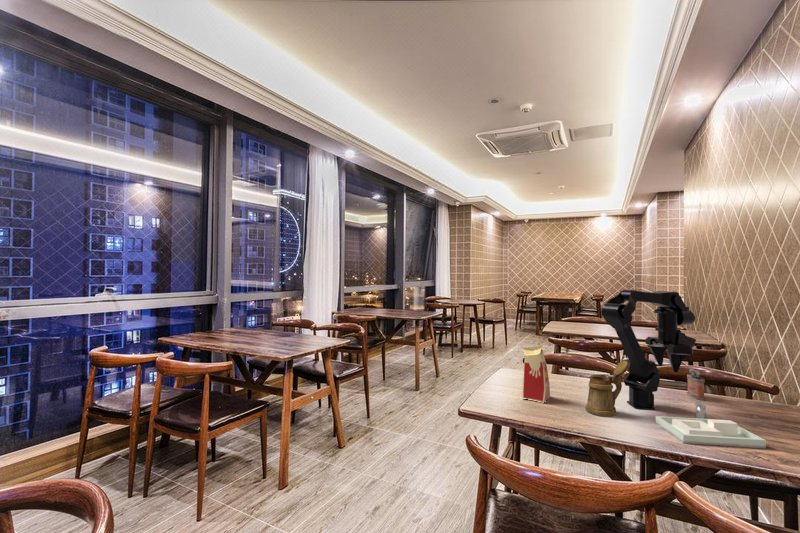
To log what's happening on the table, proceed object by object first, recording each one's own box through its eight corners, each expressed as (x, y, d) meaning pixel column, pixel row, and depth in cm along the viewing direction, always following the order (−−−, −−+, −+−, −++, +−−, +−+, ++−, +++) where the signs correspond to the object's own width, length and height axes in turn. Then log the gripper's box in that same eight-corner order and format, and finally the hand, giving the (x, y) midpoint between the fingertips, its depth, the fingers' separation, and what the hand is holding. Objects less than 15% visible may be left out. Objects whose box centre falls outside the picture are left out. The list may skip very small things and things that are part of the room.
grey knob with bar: (699, 421, 115) (699, 405, 115) (692, 417, 118) (692, 401, 118) (708, 421, 114) (708, 405, 115) (701, 417, 118) (700, 402, 118)
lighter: (707, 401, 134) (707, 373, 134) (697, 400, 134) (696, 373, 135) (694, 394, 142) (694, 368, 142) (684, 393, 142) (684, 367, 142)
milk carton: (550, 396, 137) (550, 343, 137) (545, 404, 129) (545, 347, 129) (525, 392, 142) (525, 340, 142) (519, 399, 134) (519, 344, 134)
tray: (683, 443, 100) (683, 435, 100) (655, 423, 113) (655, 416, 113) (766, 448, 97) (765, 440, 97) (727, 427, 110) (727, 420, 110)
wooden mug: (636, 419, 116) (636, 362, 117) (591, 416, 118) (590, 360, 119) (623, 408, 125) (623, 356, 125) (581, 406, 127) (581, 354, 127)
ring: (689, 437, 102) (689, 424, 102) (672, 425, 110) (672, 413, 110) (745, 440, 100) (745, 427, 100) (723, 428, 108) (723, 416, 108)
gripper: (710, 330, 122) (710, 377, 122) (675, 323, 141) (676, 363, 140) (673, 329, 124) (674, 375, 123) (644, 322, 142) (644, 362, 142)
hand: (667, 368), depth 132 cm, fingers open, 9 cm apart
